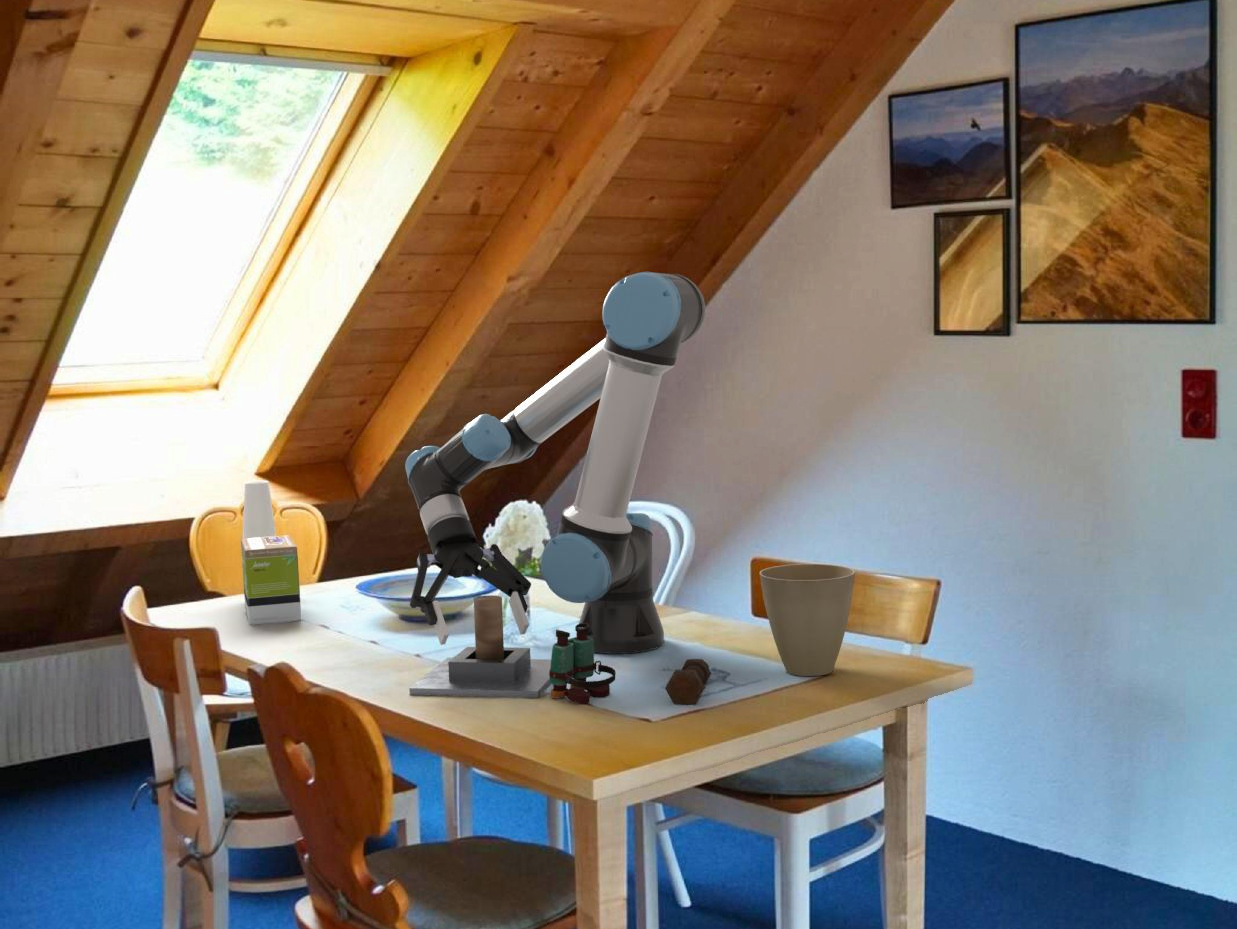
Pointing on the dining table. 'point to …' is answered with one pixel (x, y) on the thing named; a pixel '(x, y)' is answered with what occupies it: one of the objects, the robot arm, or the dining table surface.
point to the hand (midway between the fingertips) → (485, 634)
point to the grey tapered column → (258, 510)
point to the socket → (487, 676)
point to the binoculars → (577, 668)
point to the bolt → (688, 682)
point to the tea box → (271, 579)
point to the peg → (489, 627)
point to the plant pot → (808, 613)
